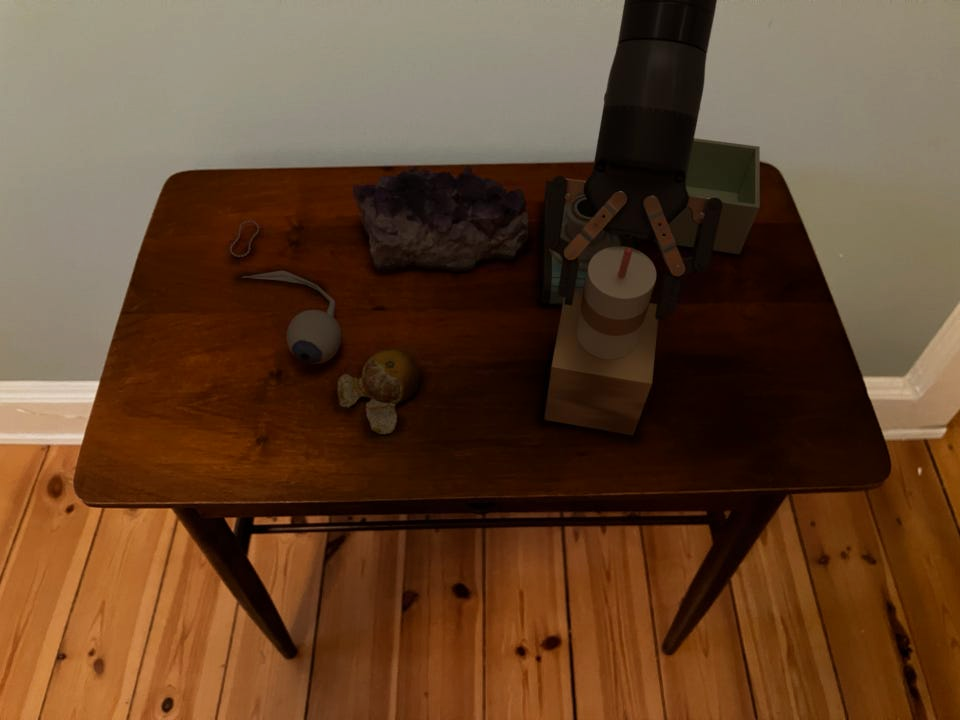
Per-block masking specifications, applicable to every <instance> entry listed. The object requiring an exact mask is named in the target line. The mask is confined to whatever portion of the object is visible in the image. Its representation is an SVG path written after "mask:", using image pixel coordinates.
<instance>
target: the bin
mask: <svg viewBox="0 0 960 720" xmlns="http://www.w3.org/2000/svg"><path fill="white" fill-rule="evenodd" d="M760 152H761V151H760V146H757V145H750V144H741V143H735V142H734V143H733V142H727V141H720V140H719V141H718V140H710V139H704V138H703V139H702V138H697V137H696V138H695V137H694V141H693V146H692V151H691V156H690V161H689V166H688V171H687V176H686V189H687V192H688V195H690V196H696V197H703V198H713V197H715V198H719V199H720V200H721V201H722V204H723V206H722V210H721V215H720V219H719V224H718V228H717V233H716V237H715V242H714V246H713V250H712V251H713V252H714V251H715V252H720V253H728V254H734V255H740V254H741V253H742V250H743V248H744V245H745V242H746V240H747V238H748V236H749V234H750V231H751V229H752V226H753V225H754V222H755V220H756V217H757V215H758V213H759V210H760V208H761V207H760V204H761V201H760V200H761V199H760V198H761V197H760V196H761V193H760V192H761V191H760V189H761V187H760V184H761V183H760V182H761V179H760V177H761V175H760V173H761V171H760V169H761V168H760V167H761V166H760V164H761V163H760V160H761V159H760V157H761V155H760ZM691 216H692V213H691V210H690V209H689V208H688V207H686V208H685V209H684V210H683V211H682V212H681V213H680V214H679V215H678V216H677V217H676V218H675V219H674V220H673V221H672V222H671V223H669V224H668V225H669V228H670V230H671V232H672V235H673V237H674V240H675V242H676V245H677V246H679V247H687V248H693V247H694V242H695V237H696V233H697V228H698V224H699V223H695V222H694V221H693V220H692V217H691ZM653 242H654V243H656V241H655V239H654V238H653Z"/></svg>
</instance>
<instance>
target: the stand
mask: <svg viewBox="0 0 960 720" xmlns="http://www.w3.org/2000/svg"><path fill="white" fill-rule="evenodd" d="M582 295H583V293H582V292H576V291H575V292H574V297H573V303H572V306H571V305H565V304H564V301H565V297H564V301H563V305H561V312H560V317H559V323H558V328H557V334H556V340H555V345H554V351H553V355H552V362H551V368H550V374H549V382H548V389H547V395H546V402H545V403H546V404H545V410H544V417H543V420H544V421H549V422H554V423H561V424H565V425H570V426H576V427H577V426H578V427H583V428H588V429H594V430H600V431H605V432H610V433H617V434H622V435H627V436H634V435H635V432H636V429H637V426H638V423H639V421H640V419H641V416H642V412H643V410H644V407H645V404H646V402H647V399H648V397H649V394H650V391H651V388H652V385H653V379H654V368H655V358H656V347H657V336H658V326H659V320H657V319H656V318H655V313H656V308H657V303H652V302H650V303H649V307H648V310H647V313H646V316H645V319H644V322H643V324H642V328H641V331H640V334H639V338H638V341H637V344H636V346H635V348H634V349H633V350H632V351H631V352H630V353H629V354H628V355H626V356H624V357H622V358H619V359H613V360H607V359H601V358H597V357H595V356H593V355H591V354H589V353H588V352H587V351H585V350H584V349H583V347H582V346H581V345H580V343H579V341H578V338H577V326H578V321H579V315H580V309H581V301H582Z"/></svg>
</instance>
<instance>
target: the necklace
mask: <svg viewBox="0 0 960 720" xmlns="http://www.w3.org/2000/svg"><path fill="white" fill-rule="evenodd" d="M247 223H249V224H250V223H252V224H254V225H255V226H256V227H257V229H256V232H255V234H253V235H252V236H251V237H250V239H249V241H248V245H247V246H248V251H246V253H244V254H241V255H240V254H238V255H237V254H236V253H235V252H233V247H234V245H236V242H238V241H239V240H240V237H241V233H242V227H243V226H244V225H245V224H247ZM260 229H261V227H260V226H259V224H258V223H257V222H256V221H254V220H250V219H249V220H247V221H246V220H245V221H244V222H242V223H241V224H240V225H239V227H238V230H239V231H238V234H237V237H236V239H235V240H234V241H233V242H232V243H231V244H230V247H229V249H230V250H229V252H230V253H231V255H233V256H234V257H237V258H240V257H241V258H243V257H245V256H247V255H248V254H250V251H251V247H252V246H251V245H252V242H253V240H254V237H256V235H258V233H259V232H260Z"/></svg>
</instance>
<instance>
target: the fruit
mask: <svg viewBox="0 0 960 720" xmlns="http://www.w3.org/2000/svg"><path fill="white" fill-rule="evenodd" d="M420 378H421V377H420V369H419V367H418V365H417V363H416V362H415V360H414V358H412V357H411V356H410V355H409V354H407V353H406V352H404V351H401V350H398V349H388V350H387V349H386V350H381V351H379V352H376V353H374V354H373V355H372V356H370V357H369V358H368V359H367V361H366V362H365V364H364V366H363V368H362V371H361V377H359V378H357V377H354V376H351V375H350V374H348V373H344V374H342V375H341V376H340V377H338V380H337V388H336V389H337V391H336V393H337V394H336V395H337V397H338V403H339V406H340V407H343V408H350V407H351V406H353V405H355V404H356V403H357V401H358V400H359V398H361V397H366V398H369V399H370V401H369V402H366V403H365V413H366V415H365V416H366V418H367V420H368V423H369V425H370V428H371V429H370V430H371V432H374V433H376V434H378V435H388V434H391V433H393V432H394V430H395V429H396V426H397V424H398V418H399V417H398V415H397V414H398V413H397V411H396V405H397V404H399V403H400V402H401V403H402V402H404V401H406V400H409V399H411V398H412V397H413V396H414V394H415V393H416V392H417V391H418V388H419V383H420Z"/></svg>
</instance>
